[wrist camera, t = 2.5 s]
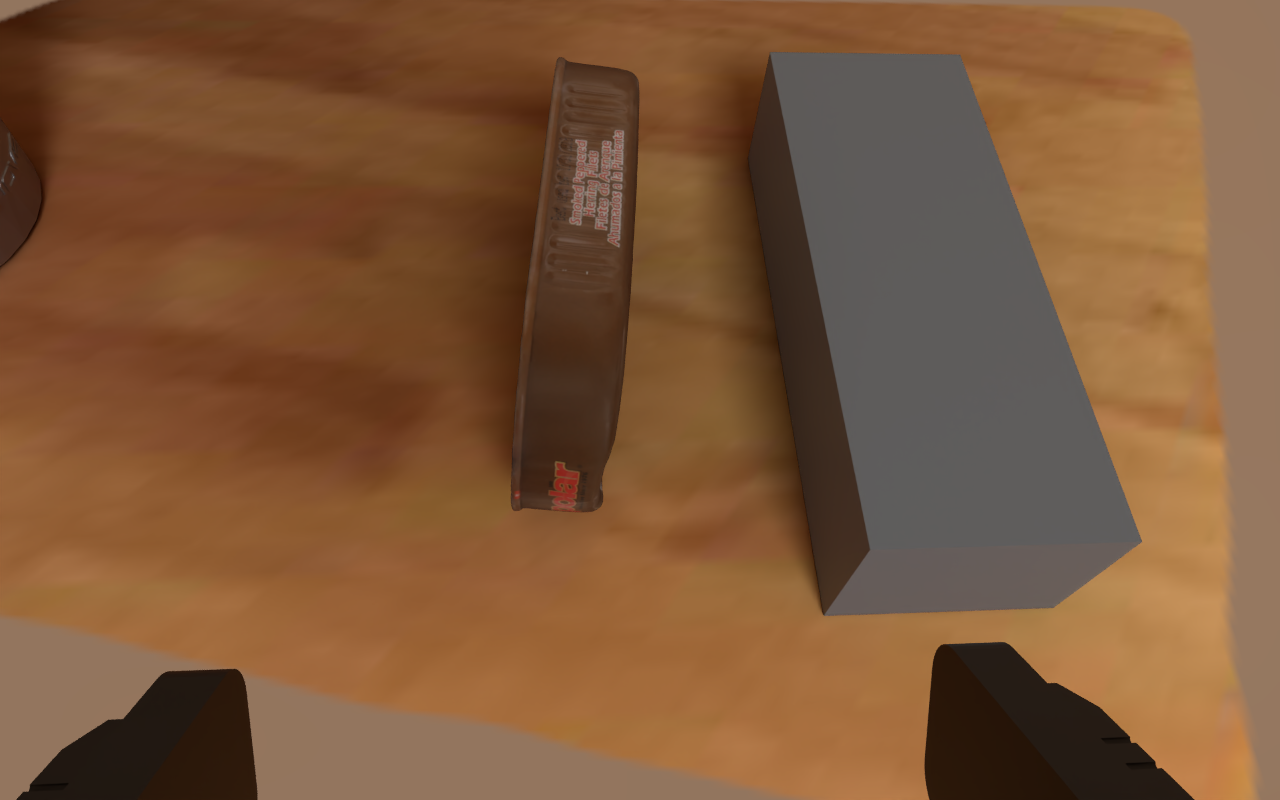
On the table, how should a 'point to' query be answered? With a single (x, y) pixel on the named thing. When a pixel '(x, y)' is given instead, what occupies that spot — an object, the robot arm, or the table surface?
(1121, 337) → the table surface
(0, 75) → the table surface
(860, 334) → the base brick
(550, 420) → the tin
